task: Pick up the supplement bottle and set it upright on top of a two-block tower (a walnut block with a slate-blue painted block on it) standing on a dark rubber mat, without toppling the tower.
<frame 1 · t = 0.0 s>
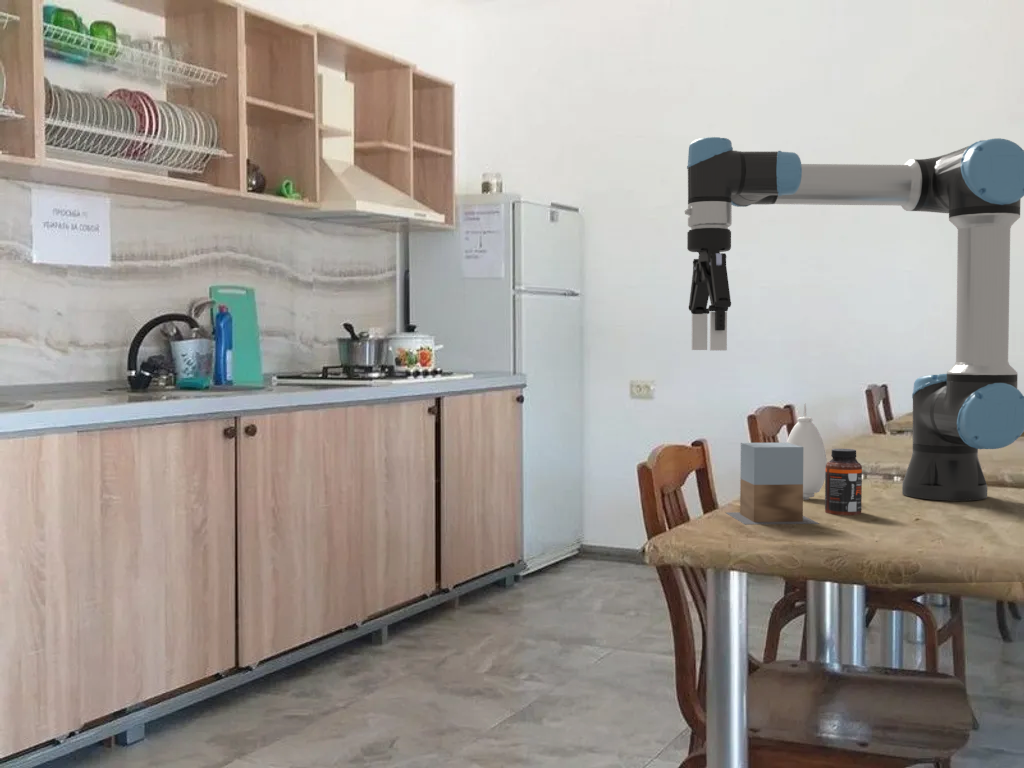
hand: (708, 350, 190), 28 cm above the table, fingers open, 13 cm apart
rubber mat: (770, 521, 178), on the table
supplement bottle: (843, 517, 184), on the table
sauce bottle: (804, 499, 204), on the table
walnut block: (770, 517, 178), point 1 cm above the table, touching rubber mat, slate block
slate block: (771, 481, 178), point 7 cm above the table, touching walnut block
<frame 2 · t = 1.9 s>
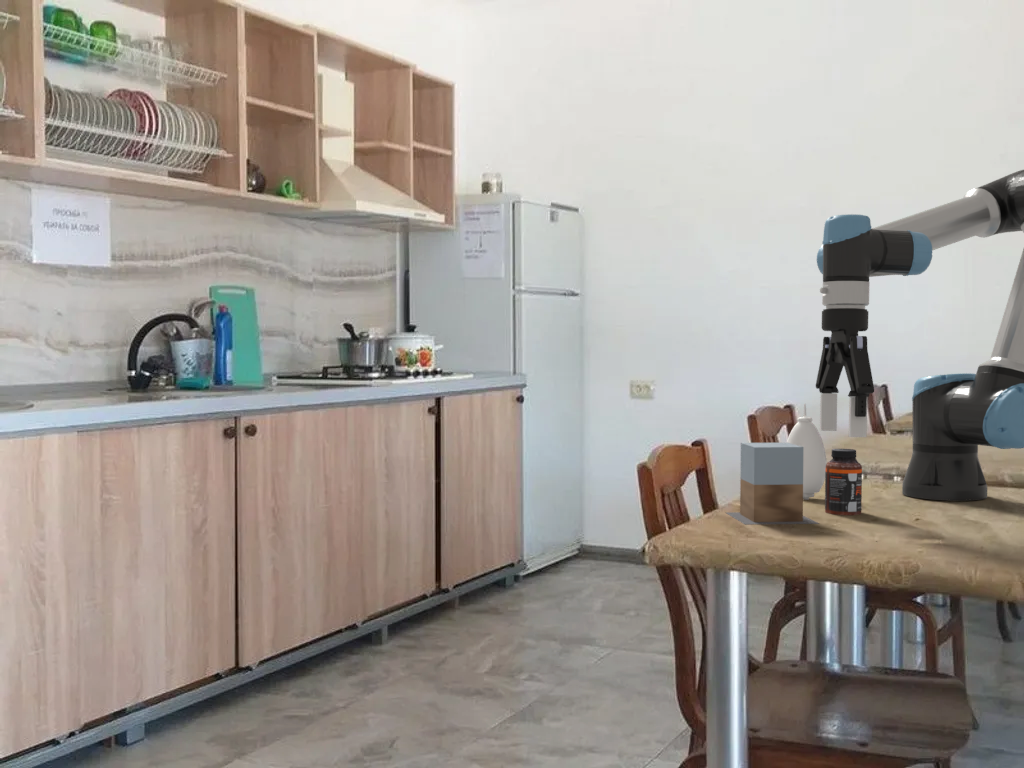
hand: (842, 433, 183), 14 cm above the table, fingers open, 13 cm apart
nothing on the table moved.
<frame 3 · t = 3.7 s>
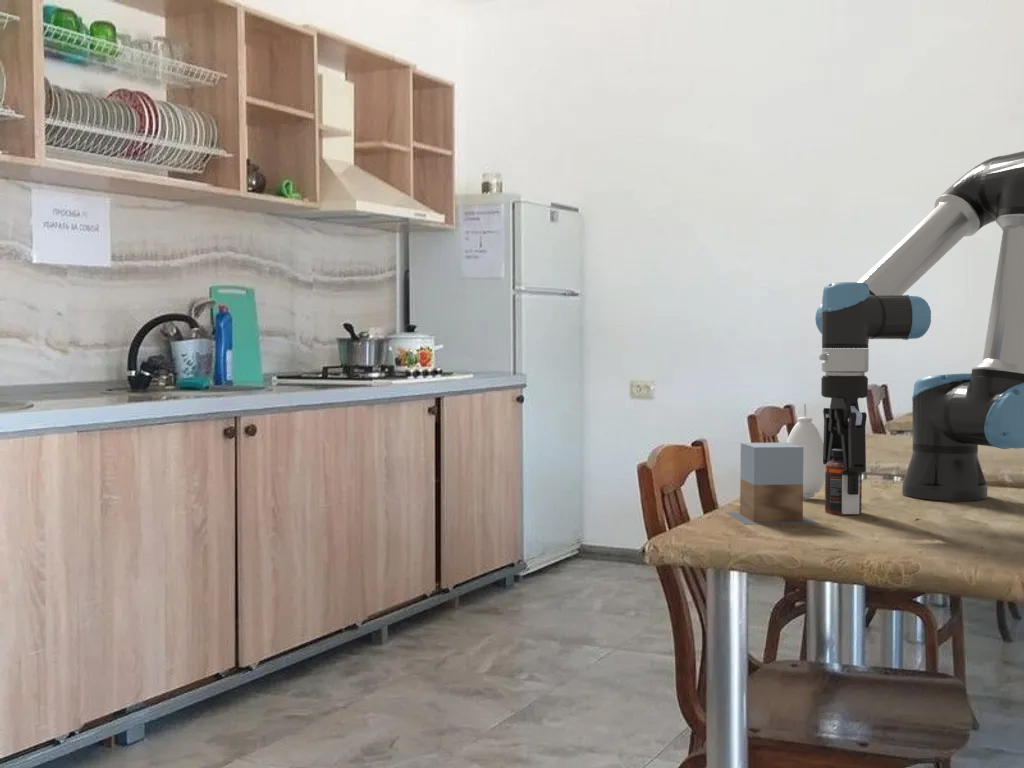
hand: (843, 510, 184), 1 cm above the table, fingers closed on supplement bottle, 6 cm apart
supplement bottle: (843, 516, 184), on the table, touching gripper
everything else where it was.
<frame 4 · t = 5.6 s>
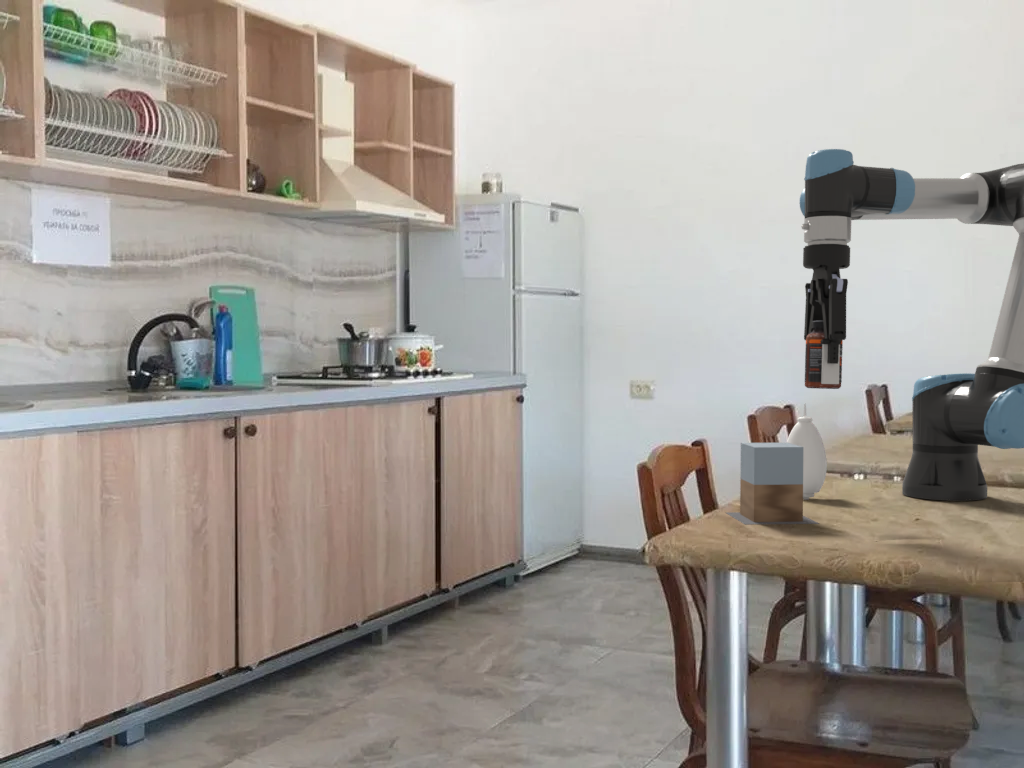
hand: (823, 383, 182), 23 cm above the table, fingers closed on supplement bottle, 6 cm apart
supplement bottle: (822, 389, 182), point 21 cm above the table, touching gripper
everything else where it was.
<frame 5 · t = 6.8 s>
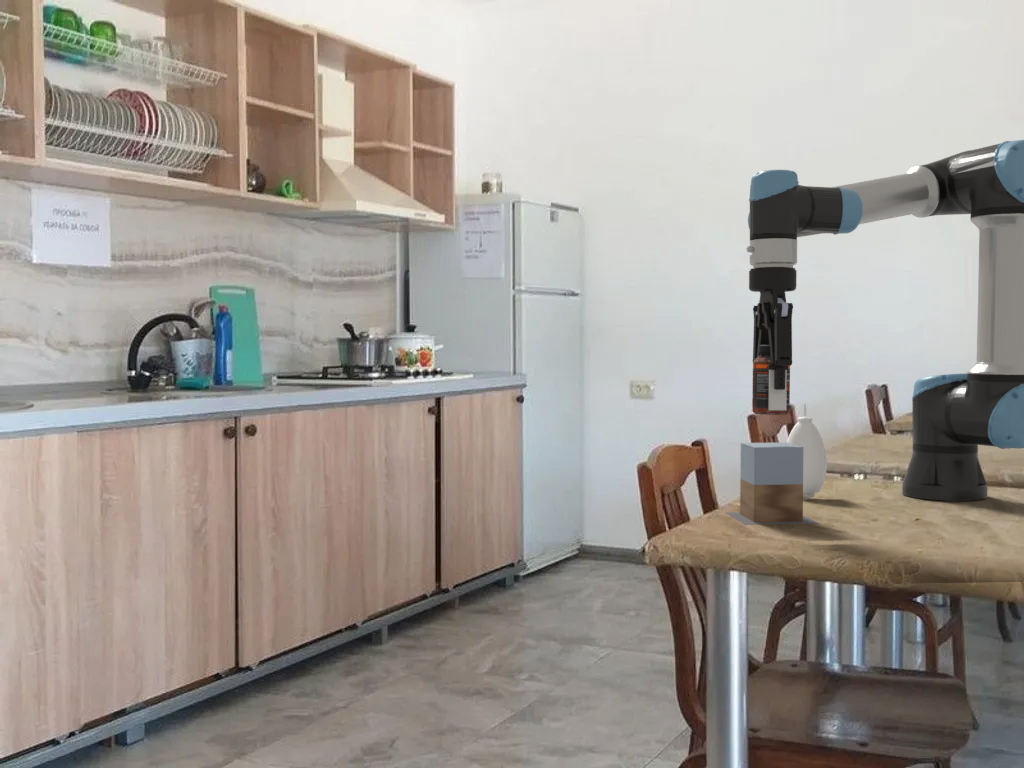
hand: (771, 408, 178), 19 cm above the table, fingers closed on supplement bottle, 6 cm apart
supplement bottle: (770, 415, 178), point 17 cm above the table, touching gripper
everything else where it was.
when the fingers open (15 cm above the table, at t = 7.7 s): supplement bottle drops 2 cm, resting on slate block.
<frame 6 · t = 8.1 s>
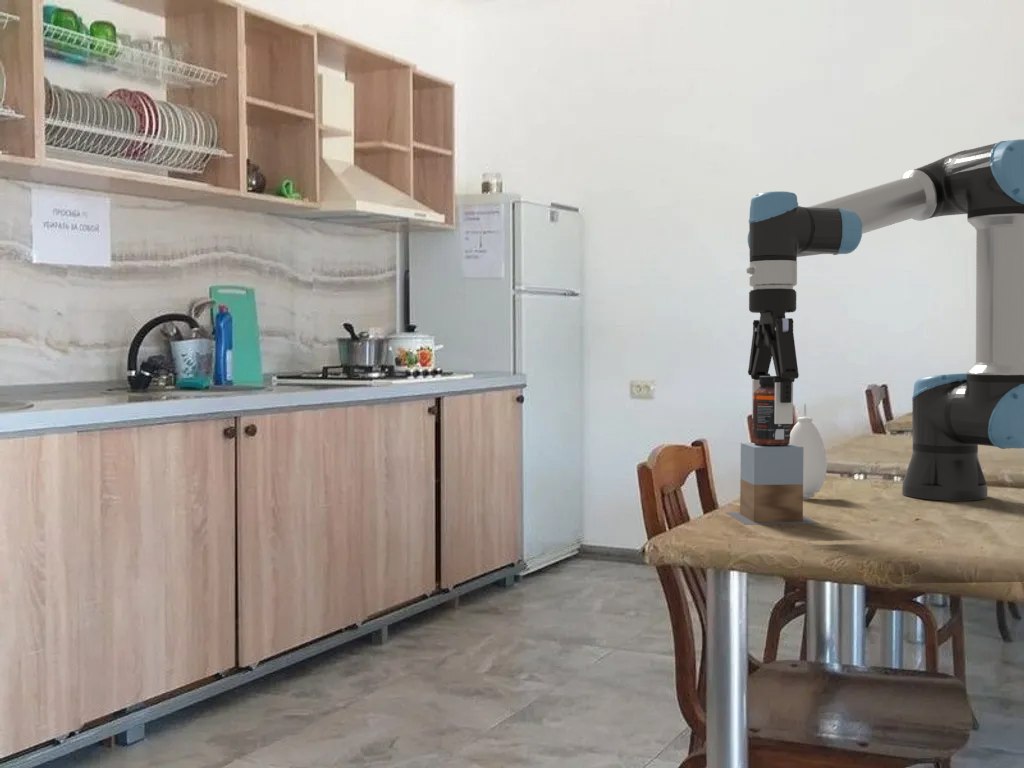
hand: (771, 421, 178), 17 cm above the table, fingers open, 12 cm apart
supplement bottle: (771, 446, 178), point 12 cm above the table, touching slate block
slate block: (771, 481, 178), point 7 cm above the table, touching supplement bottle, walnut block
everything else where it was.
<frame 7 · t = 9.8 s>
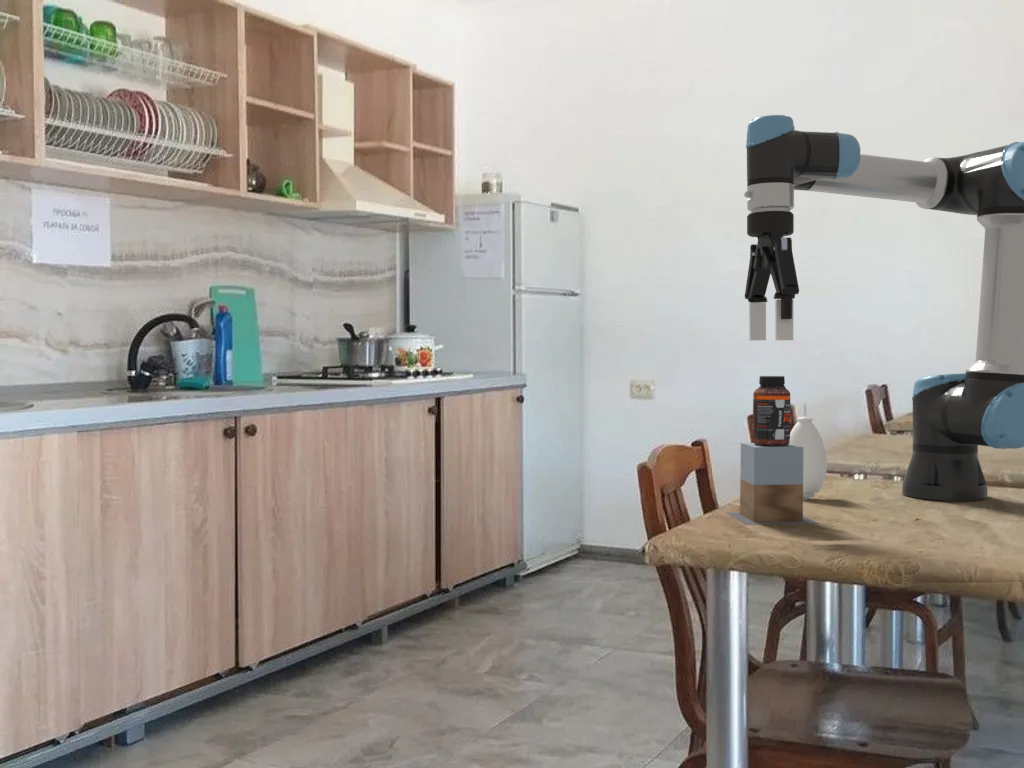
hand: (770, 340, 180), 30 cm above the table, fingers open, 13 cm apart
nothing on the table moved.
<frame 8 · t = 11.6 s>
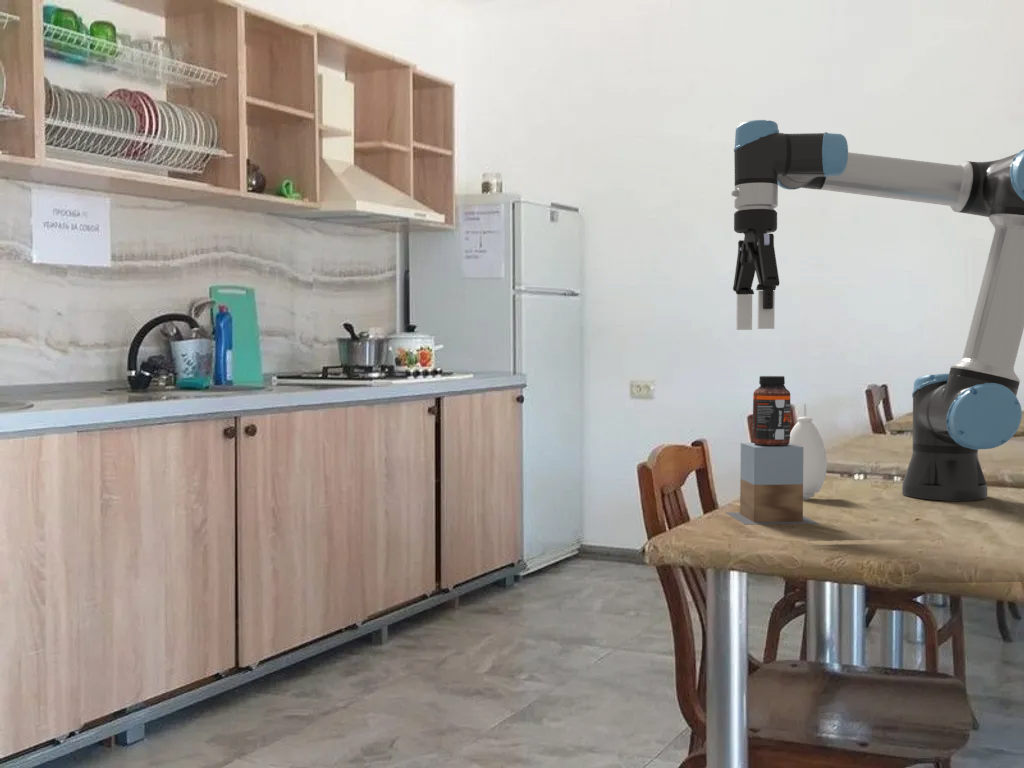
hand: (754, 329, 194), 32 cm above the table, fingers open, 13 cm apart
nothing on the table moved.
at the end: supplement bottle 0.1 cm from the slate block (horizontally); supplement bottle point 12.4 cm above the table; slate block moved 0.1 cm from its start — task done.
